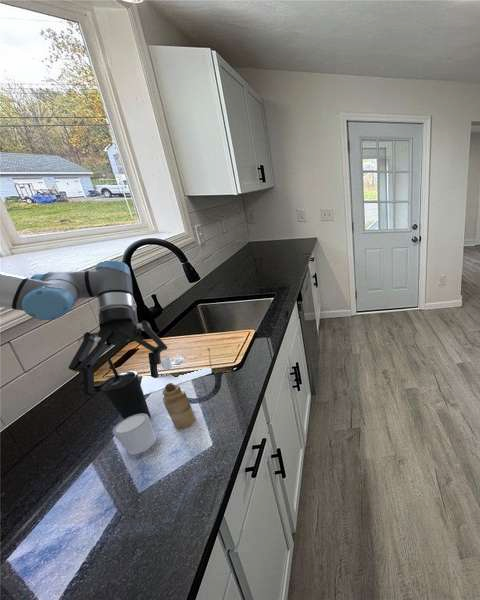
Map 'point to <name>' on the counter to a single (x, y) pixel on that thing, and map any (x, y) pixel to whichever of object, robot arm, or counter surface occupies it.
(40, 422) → the counter surface
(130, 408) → the drinking cup
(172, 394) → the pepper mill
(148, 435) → the white short cylinder
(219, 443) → the counter surface
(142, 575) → the counter surface
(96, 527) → the counter surface
